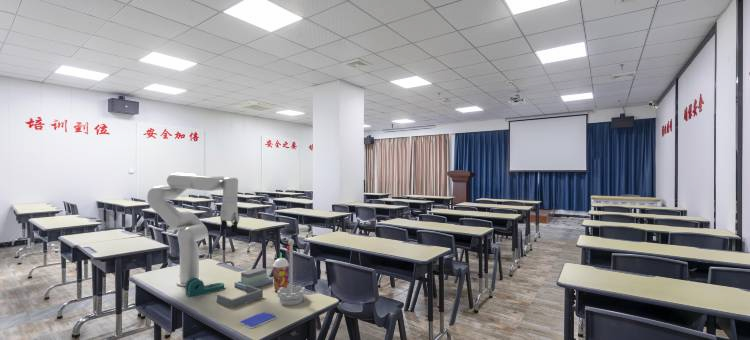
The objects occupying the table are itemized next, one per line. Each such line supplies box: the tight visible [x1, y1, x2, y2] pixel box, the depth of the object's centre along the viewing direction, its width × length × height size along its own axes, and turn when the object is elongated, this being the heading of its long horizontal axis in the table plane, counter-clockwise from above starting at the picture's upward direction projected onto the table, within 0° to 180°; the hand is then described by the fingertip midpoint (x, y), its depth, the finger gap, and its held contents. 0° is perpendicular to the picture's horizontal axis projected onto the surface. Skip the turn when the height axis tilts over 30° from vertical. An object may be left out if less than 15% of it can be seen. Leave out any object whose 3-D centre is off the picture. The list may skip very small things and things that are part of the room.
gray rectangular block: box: [240, 267, 268, 286], centre depth 194 cm, size 6×12×7 cm, turn 144°
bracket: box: [185, 277, 225, 298], centre depth 184 cm, size 18×7×8 cm, turn 135°
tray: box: [234, 276, 274, 292], centre depth 194 cm, size 11×17×2 cm, turn 144°
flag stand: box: [276, 238, 306, 306], centre depth 171 cm, size 13×13×30 cm
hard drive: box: [239, 311, 277, 329], centre depth 149 cm, size 2×8×12 cm
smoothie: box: [272, 252, 290, 293], centre depth 185 cm, size 8×8×20 cm
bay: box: [216, 285, 264, 309], centre depth 172 cm, size 12×17×4 cm
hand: (228, 230), depth 194 cm, fingers open, 9 cm apart
